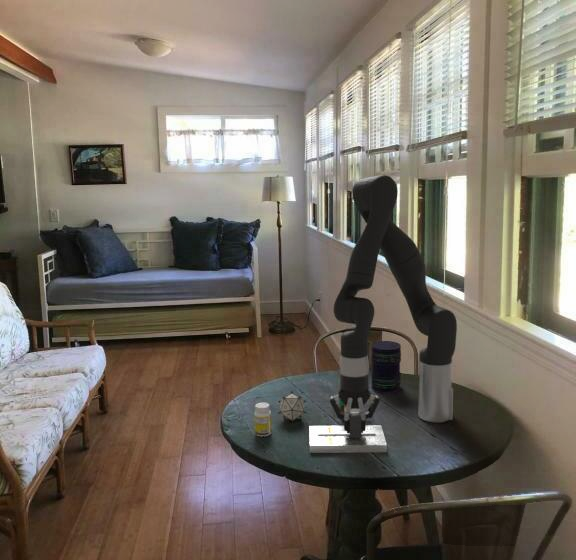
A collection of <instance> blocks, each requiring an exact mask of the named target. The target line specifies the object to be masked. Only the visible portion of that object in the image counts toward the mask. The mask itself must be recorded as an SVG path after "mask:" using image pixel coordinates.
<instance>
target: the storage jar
mask: <svg viewBox="0 0 576 560" xmlns="http://www.w3.org/2000/svg"><path fill="white" fill-rule="evenodd" d="M401 349H402V347H401V343H399V342H398V341H397V342H396V341H392V340H379V341H378V340H377V341H374V342H372V343H371V352H370V356H371V357H370V359H371V372H370V373H371V374H370V376H371V377H370V381H371V383H370V384H371V387H370V388H371V389H372V391H375V392H377V393H382V394H383V393H384V394H392V393H397V392H399V391H400V390H401V382H402V381H401V380H402V377H401V376H402V374H401V360H402V358H401V357H402V352H401Z"/></svg>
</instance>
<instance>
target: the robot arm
mask: <svg viewBox="0 0 576 560" xmlns="http://www.w3.org/2000/svg"><path fill="white" fill-rule="evenodd" d="M351 196H352V201H353V203H354V206H355V207H356V209H357V211H358V212H359V215H360V216H361V217H362V219H363V220H364V222H365V223H366V225H365V227H364V229H363V230H362V233H361V234H360V237H359V238H358V240H357V241H356V243H355V245H354V246H353V249H352V252H351V254H350V257H349V263H348V267H347V273H346V277H345V280H344V282H343V284H342V286H341V287H340V290H339V292H338V294H337V295H336V299H335V300H334V304H333V316H334V317H335V319H336V320H337V321H338V322H340V323H345V324H351V325H355V329H354V330H348V331H345V332H343V333H342V334H341V336H340V360H339V380H340V381H339V391H338V393H337V394H335V395H330V396H329V402H330V405H331V406H332V409H333V411H334V414H335V415H336V417H337V419H339V420H343V426H344V430H345V431H347V433H349V414H350V410H351V409H352V408H359V410H360V414H361V433H363V431H365V429H366V424H367V423H366V422H367V421H366V420H367V419H372V418H373V416H374V414H375V412H376V410H377V408H378V406H379V403H380V401H381V400H380V397H379V395H378V394H375V395H374V394H372V393H371V392H370V389H369V386H370V385H369V383H370V382H369V378H370V377H369V374H370V367H369V365H370V364H369V356H368V353H369V352H368V344H369V343H368V340H369V337H370V332H371V331H370V330H371V327H372V324H373V321H374V317H375V306H374V304H373V302H372V300H370V299H369V298H366V297H357V294H358V293H359V292H360V291H364V290H368V289H371V288H372V286H373V283H374V278H375V273H376V267H377V263H378V259H379V253H380V251H381V253H382V255H383V257H384V259H385V262H386V264H387V266H388V267H389V269H390V271H391V273H392V275H393V278H394V279H395V281H396V283H397V285H398V287H399V289H400V291H401V293H402V295H403V297H404V298H405V301H406V303H407V306H408V309H409V312H410V314H411V318H412V320H413V323H414V325H415V327H416V329H417V330H418V331H419V332H420V333H421V334H423V335H424V336H427V344H426V345H427V346H426V347H424V348H421V349H420V351H419V355H418V357H419V358H418V360H419V362H418V406H417V408H418V417H419V419H421V420H422V421H426V422H430V423H445V422H447V421H452V420H453V406H454V405H453V402H454V401H453V400H454V388H453V387H452V369H453V366H452V365H453V357H454V355H455V354H454V353H455V351H456V346H457V344H456V343H457V330H458V329H457V328H458V323H457V322H458V321H457V318H456V316H455V314H454V312H452V311H451V310H449V309H447V308H445V307H442V306H439V305H437V304H436V302H435V301H434V299H433V298H432V296H431V294H430V291H429V290H428V287H427V282H426V281H427V280H426V278H427V276H426V274H427V273H426V272H427V270H426V264H425V262H424V259H423V257H422V254H421V253H420V251H419V249H418V247H417V245H416V243H415V241H414V240H413V239H412V238H411V237H410V236H409V235H408V234H407V233H405V231H403V230H402V229H401V228H400V226H399V227H398V225H397V224H396V223H394V221H393V220H392V219H391V217H392V214H393V211H394V208H395V207H396V203H397V200H398V199H397V198H398V186H397V182H396V181H395V180H394V179H393V178H392V177H391V176H389V175H387V174H383V175H382V174H379V175H375V176H369V177H365V178H361V179H359V180H357V181H356V182H355V183H354V184H353V186H352V192H351ZM340 399H341V401H342V402H343V403H344V405H345V409H344V413H343V412H341V411H340V406H339V404H340ZM368 401H370V402H369V403H370V405H369V407H368V408H367V411H366V410H365V407H364V406H365V404H366V403H368ZM365 411H366V412H365Z"/></svg>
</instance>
